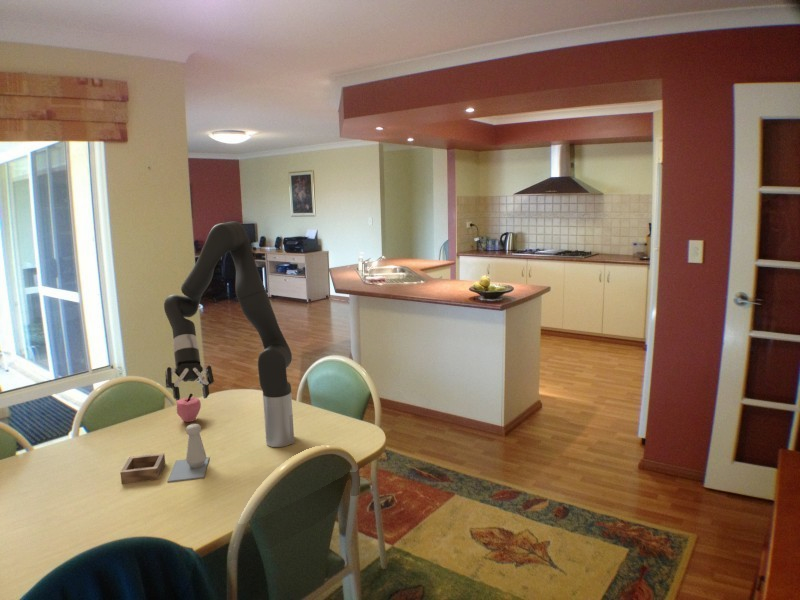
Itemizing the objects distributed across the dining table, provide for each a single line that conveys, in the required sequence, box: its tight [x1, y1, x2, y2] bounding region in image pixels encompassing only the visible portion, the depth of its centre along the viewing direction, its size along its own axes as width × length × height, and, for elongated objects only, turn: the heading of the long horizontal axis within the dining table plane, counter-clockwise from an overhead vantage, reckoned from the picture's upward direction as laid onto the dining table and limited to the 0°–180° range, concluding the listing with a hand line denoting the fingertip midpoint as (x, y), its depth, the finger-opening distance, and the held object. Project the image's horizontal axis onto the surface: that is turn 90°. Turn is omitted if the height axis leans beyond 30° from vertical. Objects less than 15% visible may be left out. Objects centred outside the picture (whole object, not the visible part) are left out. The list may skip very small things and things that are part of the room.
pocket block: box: [119, 452, 166, 484], centre depth 163 cm, size 10×10×4 cm
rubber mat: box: [167, 456, 210, 483], centre depth 165 cm, size 10×13×1 cm
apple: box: [176, 393, 202, 423], centre depth 202 cm, size 10×9×10 cm
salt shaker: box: [185, 423, 207, 469], centre depth 166 cm, size 6×6×13 cm
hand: (192, 398), depth 172 cm, fingers open, 8 cm apart
